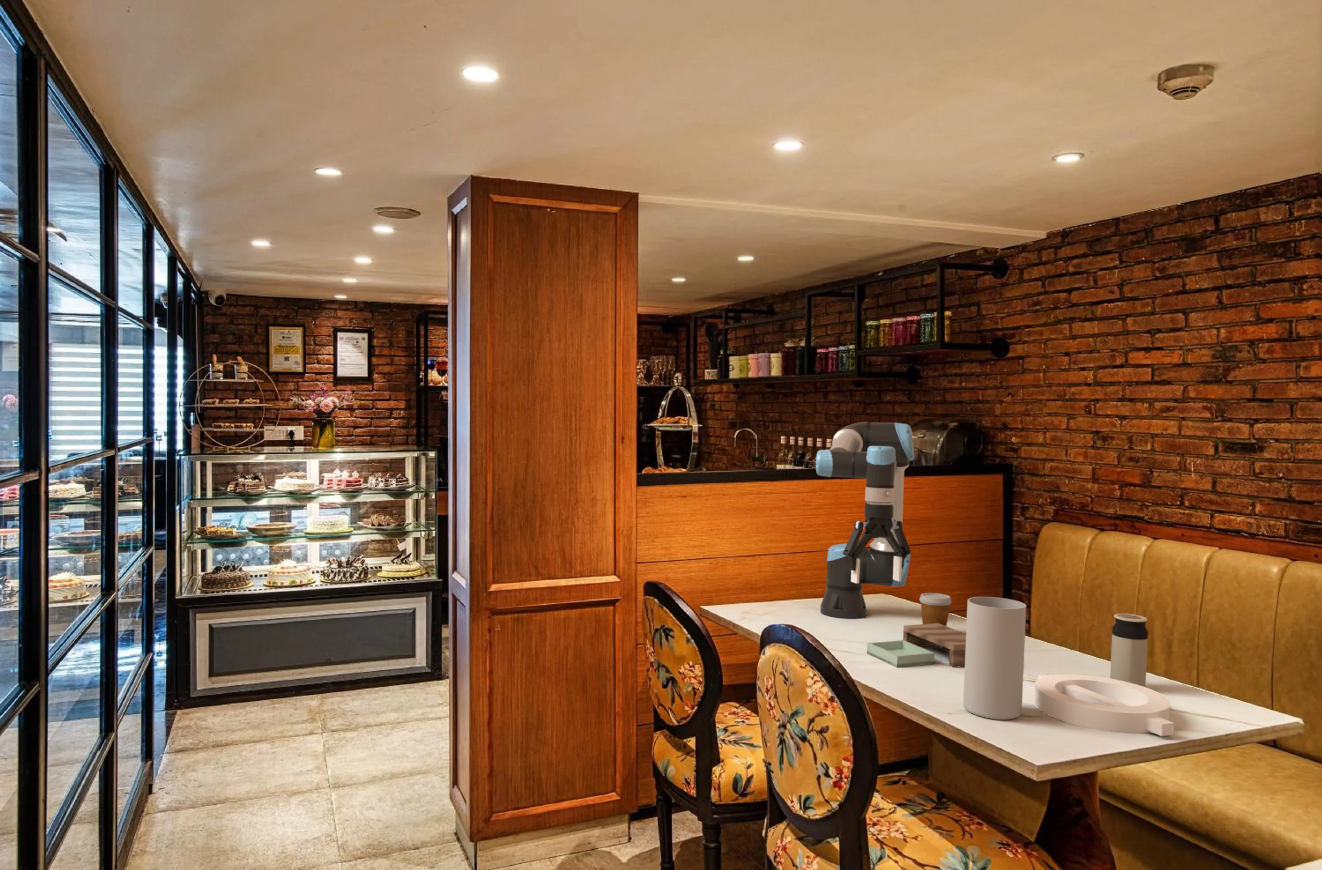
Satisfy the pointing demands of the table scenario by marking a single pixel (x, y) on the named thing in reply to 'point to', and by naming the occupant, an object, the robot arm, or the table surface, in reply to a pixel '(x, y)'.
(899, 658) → the green tray
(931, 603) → the disposable coffee cup
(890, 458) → the robot arm
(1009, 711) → the cylinder vase
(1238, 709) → the table surface
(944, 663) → the table surface
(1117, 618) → the travel mug
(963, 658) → the walnut overhang
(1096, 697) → the ring with crossbar
